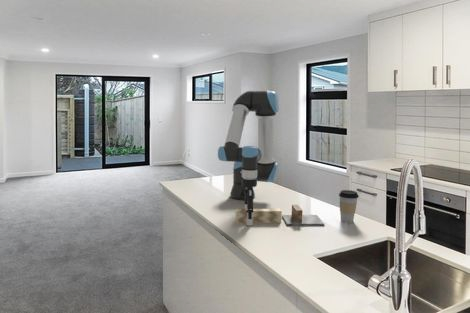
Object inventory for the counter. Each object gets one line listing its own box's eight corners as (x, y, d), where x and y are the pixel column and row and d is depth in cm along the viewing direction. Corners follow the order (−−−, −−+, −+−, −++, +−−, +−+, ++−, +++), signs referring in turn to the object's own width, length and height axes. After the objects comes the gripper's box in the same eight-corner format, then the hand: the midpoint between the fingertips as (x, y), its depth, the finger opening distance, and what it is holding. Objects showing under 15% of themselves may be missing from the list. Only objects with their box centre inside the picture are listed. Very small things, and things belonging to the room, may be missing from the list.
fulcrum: (287, 225, 180) (287, 211, 179) (281, 216, 194) (282, 203, 193) (324, 225, 181) (325, 211, 180) (316, 216, 195) (317, 203, 194)
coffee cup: (341, 217, 195) (342, 188, 193) (359, 220, 190) (361, 191, 188) (334, 221, 187) (336, 192, 185) (353, 225, 182) (355, 195, 180)
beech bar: (236, 223, 184) (236, 211, 183) (235, 220, 188) (236, 208, 187) (281, 223, 185) (281, 211, 184) (279, 220, 189) (280, 208, 188)
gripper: (239, 173, 195) (238, 213, 198) (243, 183, 171) (242, 229, 174) (254, 173, 195) (253, 213, 198) (260, 183, 171) (258, 229, 174)
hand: (248, 220), depth 186 cm, fingers open, 12 cm apart
